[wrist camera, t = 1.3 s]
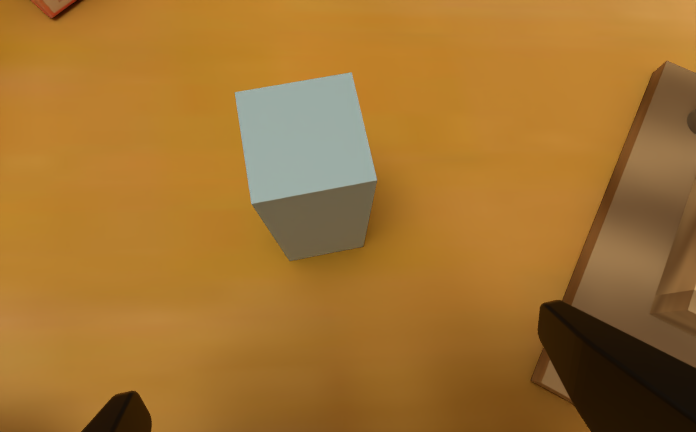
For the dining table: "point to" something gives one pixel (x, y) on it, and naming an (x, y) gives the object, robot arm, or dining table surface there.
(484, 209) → the dining table surface
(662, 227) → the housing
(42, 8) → the cracker box
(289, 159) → the pale gray block
